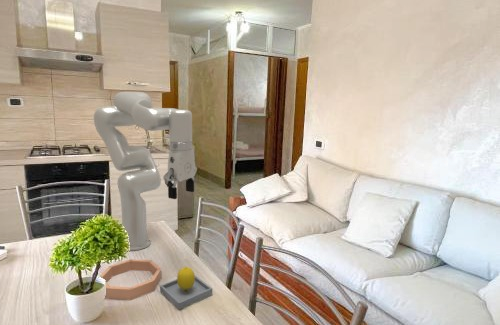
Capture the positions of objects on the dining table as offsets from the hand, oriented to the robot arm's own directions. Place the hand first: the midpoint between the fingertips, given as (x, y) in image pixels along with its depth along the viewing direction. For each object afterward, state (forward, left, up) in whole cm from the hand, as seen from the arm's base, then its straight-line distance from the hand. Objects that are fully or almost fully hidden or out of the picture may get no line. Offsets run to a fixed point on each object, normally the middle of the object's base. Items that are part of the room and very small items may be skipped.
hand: (181, 194), depth 114 cm
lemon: (+14, -7, -28) cm, 32 cm away
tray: (+14, -7, -28) cm, 32 cm away
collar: (-3, -18, -28) cm, 34 cm away
